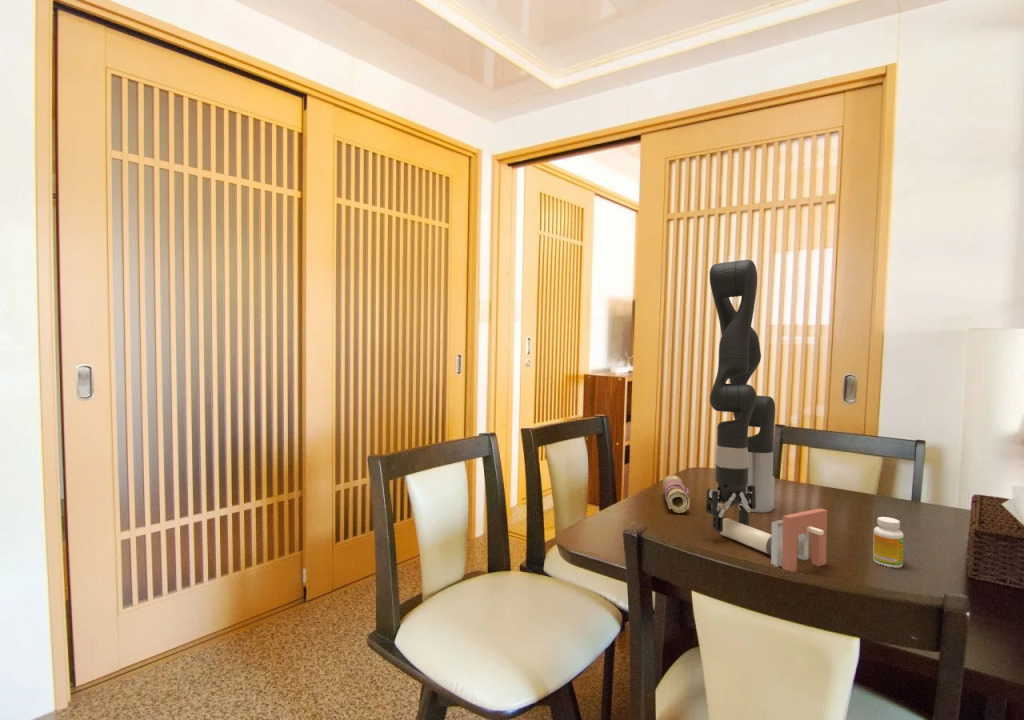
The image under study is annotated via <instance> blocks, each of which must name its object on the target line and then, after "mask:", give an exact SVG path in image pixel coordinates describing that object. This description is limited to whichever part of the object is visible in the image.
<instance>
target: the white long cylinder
mask: <svg viewBox="0 0 1024 720" xmlns="http://www.w3.org/2000/svg"><path fill="white" fill-rule="evenodd" d="M719 533H720V535H721V536H724V537H727V539H731V540H734V541H736V542H739V543H740V544H743V545H746V546H748V547H750V548H752V549H755V550H757V551H761V552H762V553H765V554H768V555H769V556H771V538H772V533H768V532H766V531H763V530H761V529H758V528H755V527H752V526H749V525H748V526H747V525H744V524H742V523H739V521H737V520H734V519H731V518H729V517H725V518H724V517H723V531H722V532H719ZM782 548H783V538H782Z"/></svg>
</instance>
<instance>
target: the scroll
mask: <svg viewBox="0 0 1024 720" xmlns="http://www.w3.org/2000/svg"><path fill="white" fill-rule="evenodd" d="M662 487H663V488H662V490H663V493H664V498H665V501H666V502H667V506H668V509H669V510H672V511H673V512H674V513H677V514H680V513H685V512H686V511H687V510H689V508H690V503H691V499H690V497H689V496H690V494H691V492H690V489H689V488H688V487H686V486H685V485H684V483H683V480H682V479H681V478H680V476H677V475H674V474H673V475H667V476H666V477H665V478H664V479H663V480H662Z"/></svg>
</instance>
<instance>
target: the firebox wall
mask: <svg viewBox="0 0 1024 720" xmlns="http://www.w3.org/2000/svg"><path fill="white" fill-rule="evenodd" d="M782 520H783V530H782V539H783V548H782V566H781V568H783V569H787V570H791V571H798V565H797V564H798V535H800V534H804V533H812V545H811V548H812V551H811V552H812V553H811V555H812V557H811V564H812V565H813V564H814V566H816V567H818V566H819V567H822V566H821V565H823V566H826V565H827V537H828V536H827V535H828V534H827V533H828V530H827V529H828V527H827V526H828V525H827V524H828V510H827V509H824V508H821V507H820V508H816V509H811V510H804V511H801V512H795V513H790V514H786V515H783V516H782ZM825 564H826V565H825Z"/></svg>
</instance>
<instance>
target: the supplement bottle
mask: <svg viewBox="0 0 1024 720" xmlns="http://www.w3.org/2000/svg"><path fill="white" fill-rule="evenodd" d="M876 523H877V525H878V526H875V527H874V529H873V538H872V539H873V540H872V541H873V542H872V543H873V544H872V545H873V549H872V550H873V551H872V560H873V561H874V563H876V564H878V565H880V564H881V565H880V566H882V565H884V566H883V567H886V566H887V568H892V567H893V568H894V569H895V568H896V569H899V568H902V567H903V566H904V544H905V543H904V541H905V540H904V533H903V531H901V530H900V529H901V528H900V527H901V522H900V520H899V519H896V518H894V517H888V516H880V517H877V520H876Z"/></svg>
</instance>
